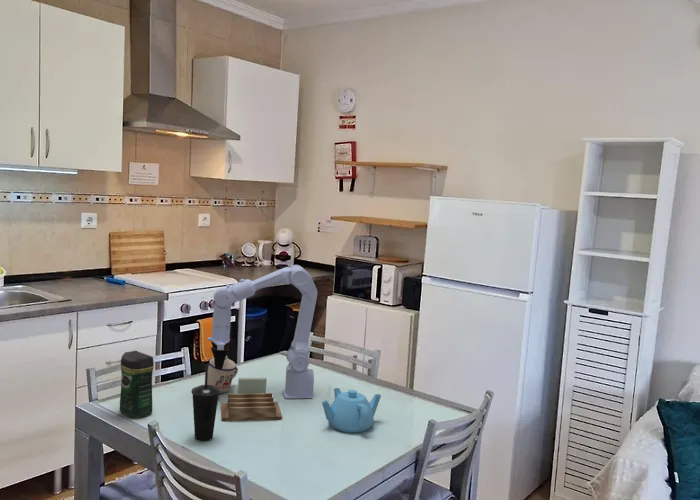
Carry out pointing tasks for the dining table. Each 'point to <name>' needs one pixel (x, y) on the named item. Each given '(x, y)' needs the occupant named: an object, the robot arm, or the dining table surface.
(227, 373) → the beige mug
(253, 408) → the walnut rack
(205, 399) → the drinking cup
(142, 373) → the coffee jar
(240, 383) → the upright gray panel
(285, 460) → the dining table surface
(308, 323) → the robot arm
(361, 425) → the teapot
